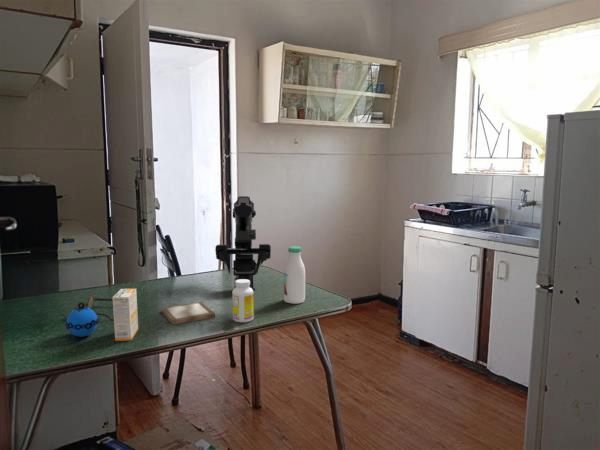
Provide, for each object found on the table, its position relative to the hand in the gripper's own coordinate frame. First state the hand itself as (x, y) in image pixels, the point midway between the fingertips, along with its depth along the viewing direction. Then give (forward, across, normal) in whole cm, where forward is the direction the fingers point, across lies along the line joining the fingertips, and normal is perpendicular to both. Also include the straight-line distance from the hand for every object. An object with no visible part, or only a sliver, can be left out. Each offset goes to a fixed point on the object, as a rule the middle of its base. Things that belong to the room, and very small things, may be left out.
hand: (243, 272), depth 156 cm
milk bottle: (+2, +18, +17) cm, 25 cm away
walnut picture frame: (+10, -18, +8) cm, 23 cm away
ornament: (+22, -46, -3) cm, 51 cm away
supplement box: (+23, -34, -3) cm, 41 cm away
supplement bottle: (+15, 0, +4) cm, 16 cm away
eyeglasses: (+8, -46, +11) cm, 48 cm away
